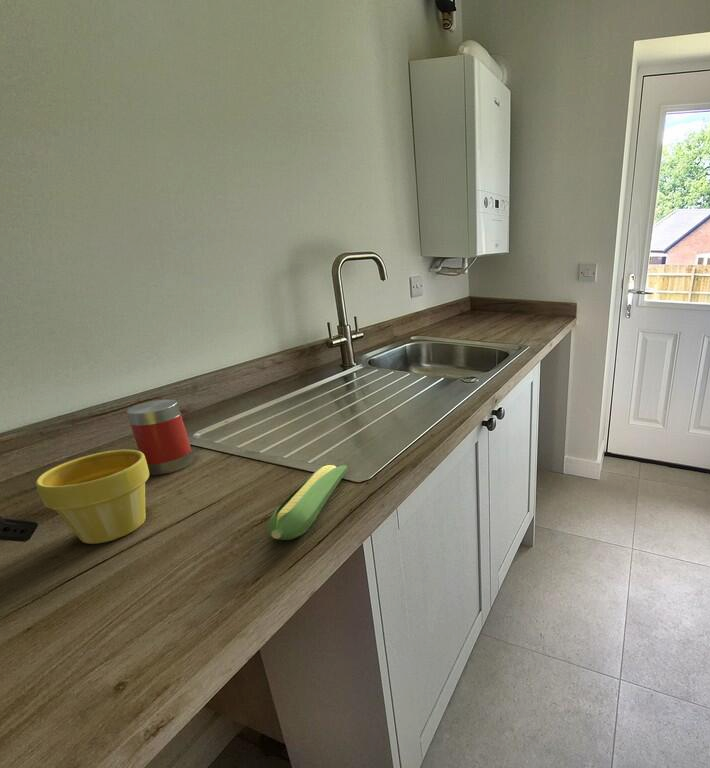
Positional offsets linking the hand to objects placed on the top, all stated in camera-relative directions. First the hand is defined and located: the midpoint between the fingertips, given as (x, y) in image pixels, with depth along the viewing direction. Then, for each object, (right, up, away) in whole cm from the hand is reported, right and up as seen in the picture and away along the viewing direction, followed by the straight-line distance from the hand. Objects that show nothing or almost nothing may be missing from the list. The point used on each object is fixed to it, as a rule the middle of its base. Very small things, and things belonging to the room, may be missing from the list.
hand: (28, 531), depth 48 cm
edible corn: (+27, -1, +14) cm, 31 cm away
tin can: (-4, +3, +25) cm, 26 cm away
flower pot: (+2, -3, +9) cm, 10 cm away
